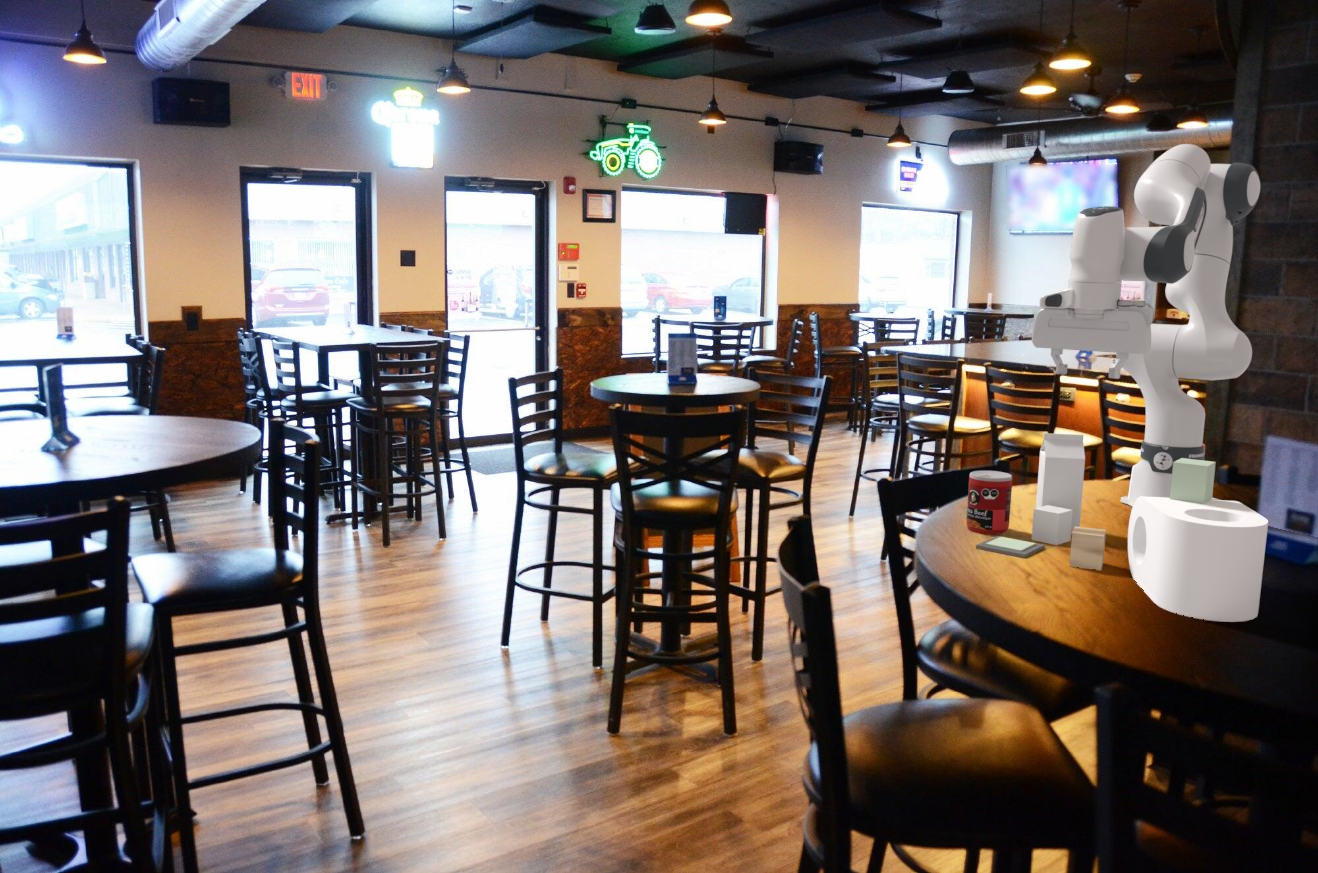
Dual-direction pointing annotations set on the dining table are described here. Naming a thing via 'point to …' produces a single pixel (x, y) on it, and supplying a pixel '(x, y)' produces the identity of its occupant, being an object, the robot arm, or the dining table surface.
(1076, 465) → the milk carton
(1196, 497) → the sage block
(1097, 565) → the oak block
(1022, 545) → the swatch
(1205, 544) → the white cross-bored block
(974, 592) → the dining table surface
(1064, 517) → the grey block
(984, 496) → the canned food
